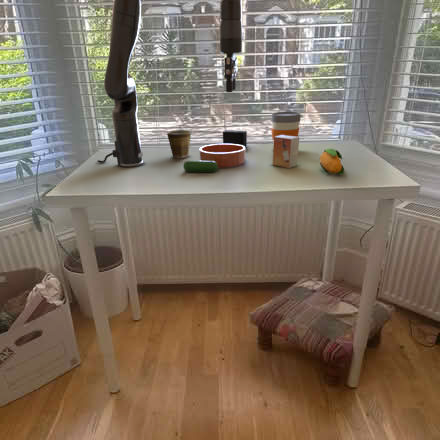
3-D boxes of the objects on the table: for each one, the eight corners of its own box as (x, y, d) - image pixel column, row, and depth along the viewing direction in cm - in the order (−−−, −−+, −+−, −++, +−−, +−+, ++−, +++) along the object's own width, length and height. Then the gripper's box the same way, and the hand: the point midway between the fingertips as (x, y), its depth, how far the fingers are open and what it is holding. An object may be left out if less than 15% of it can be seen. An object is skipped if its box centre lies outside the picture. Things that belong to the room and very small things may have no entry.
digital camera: (247, 146, 187) (247, 130, 184) (243, 148, 183) (243, 132, 180) (227, 145, 191) (227, 129, 188) (223, 147, 187) (222, 131, 183)
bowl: (196, 167, 155) (195, 153, 152) (205, 157, 170) (204, 143, 167) (242, 168, 152) (242, 153, 149) (247, 157, 167) (247, 143, 165)
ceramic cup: (196, 156, 171) (195, 132, 166) (176, 160, 167) (174, 135, 162) (181, 152, 181) (180, 128, 176) (162, 155, 176) (159, 131, 171)
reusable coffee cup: (264, 151, 176) (265, 114, 168) (278, 146, 184) (279, 111, 177) (290, 154, 169) (292, 116, 162) (303, 149, 178) (305, 112, 170)
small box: (272, 165, 155) (273, 136, 149) (280, 162, 158) (281, 134, 153) (289, 168, 150) (291, 138, 144) (297, 165, 153) (299, 136, 148)
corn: (338, 144, 147) (351, 156, 130) (337, 165, 151) (349, 179, 134) (317, 146, 148) (328, 158, 131) (317, 166, 152) (327, 181, 135)
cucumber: (182, 173, 149) (181, 162, 147) (185, 170, 152) (184, 159, 150) (216, 173, 147) (216, 162, 145) (218, 170, 150) (218, 159, 148)
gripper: (222, 37, 139) (223, 89, 148) (216, 36, 127) (217, 93, 136) (244, 37, 138) (243, 89, 147) (239, 35, 126) (239, 93, 135)
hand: (231, 91), depth 141 cm, fingers open, 8 cm apart
